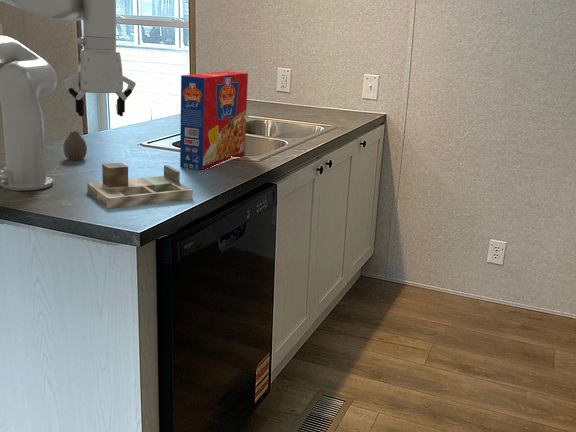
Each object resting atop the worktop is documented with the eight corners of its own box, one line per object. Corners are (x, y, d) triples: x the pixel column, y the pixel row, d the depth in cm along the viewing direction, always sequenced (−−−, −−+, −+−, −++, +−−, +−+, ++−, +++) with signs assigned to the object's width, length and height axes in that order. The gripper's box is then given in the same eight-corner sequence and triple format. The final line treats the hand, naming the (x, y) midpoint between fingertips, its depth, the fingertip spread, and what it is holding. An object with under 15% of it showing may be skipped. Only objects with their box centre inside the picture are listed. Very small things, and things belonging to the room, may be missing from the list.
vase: (59, 160, 195) (57, 132, 193) (73, 156, 201) (72, 129, 199) (77, 163, 193) (76, 134, 190) (91, 159, 199) (90, 131, 197)
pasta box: (202, 171, 193) (204, 77, 185) (180, 167, 196) (181, 75, 187) (244, 156, 218) (247, 73, 209) (224, 153, 220) (226, 71, 212)
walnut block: (109, 187, 159) (108, 168, 158) (102, 182, 163) (102, 163, 162) (128, 185, 162) (128, 166, 160) (121, 181, 166) (121, 162, 164)
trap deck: (108, 208, 151) (107, 186, 149) (87, 192, 163) (86, 171, 161) (192, 199, 163) (192, 178, 161) (167, 184, 175) (167, 165, 173)
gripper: (65, 44, 146) (67, 118, 151) (139, 47, 154) (139, 117, 159) (59, 41, 152) (61, 113, 157) (131, 45, 160) (130, 113, 165)
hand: (100, 115), depth 158 cm, fingers open, 9 cm apart
